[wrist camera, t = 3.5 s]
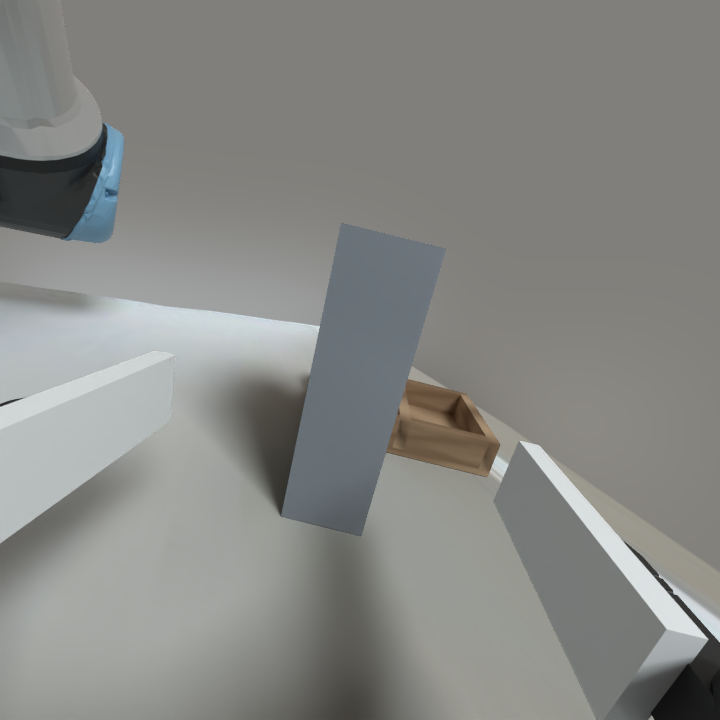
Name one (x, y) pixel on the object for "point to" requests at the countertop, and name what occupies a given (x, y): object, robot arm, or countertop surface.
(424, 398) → the divided wooden tray
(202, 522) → the countertop surface
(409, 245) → the block
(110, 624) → the countertop surface
